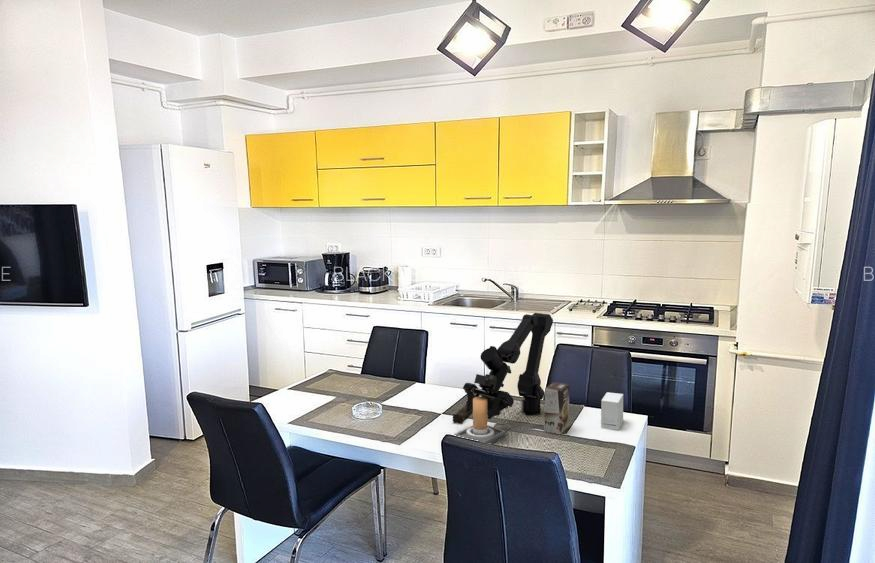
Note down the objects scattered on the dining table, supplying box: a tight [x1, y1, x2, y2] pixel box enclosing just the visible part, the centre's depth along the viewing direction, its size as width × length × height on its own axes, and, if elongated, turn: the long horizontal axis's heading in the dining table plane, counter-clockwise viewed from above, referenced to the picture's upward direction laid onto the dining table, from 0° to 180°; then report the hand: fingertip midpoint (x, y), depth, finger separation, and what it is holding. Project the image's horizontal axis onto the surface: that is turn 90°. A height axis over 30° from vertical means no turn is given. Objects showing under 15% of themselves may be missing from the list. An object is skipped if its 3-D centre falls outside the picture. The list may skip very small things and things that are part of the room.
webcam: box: [480, 395, 501, 416], centre depth 220 cm, size 8×8×10 cm
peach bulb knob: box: [472, 396, 488, 435], centre depth 195 cm, size 5×5×13 cm
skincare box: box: [600, 391, 624, 431], centre depth 207 cm, size 10×6×10 cm, turn 152°
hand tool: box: [452, 401, 473, 425], centre depth 218 cm, size 19×4×5 cm, turn 155°
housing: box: [453, 424, 507, 445], centre depth 196 cm, size 14×12×2 cm
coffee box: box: [543, 381, 570, 435], centre depth 203 cm, size 9×6×16 cm
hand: (477, 415), depth 194 cm, fingers open, 9 cm apart
